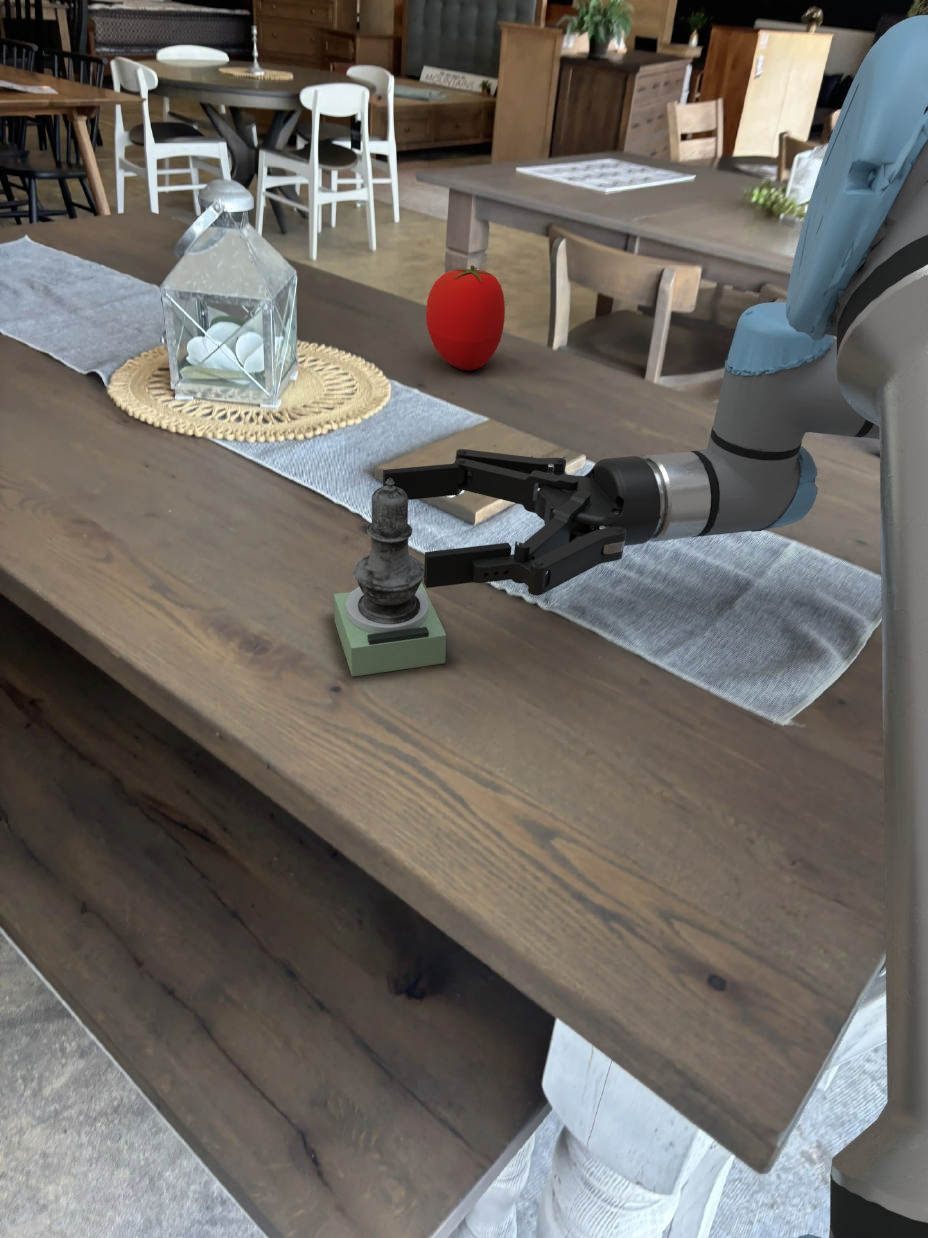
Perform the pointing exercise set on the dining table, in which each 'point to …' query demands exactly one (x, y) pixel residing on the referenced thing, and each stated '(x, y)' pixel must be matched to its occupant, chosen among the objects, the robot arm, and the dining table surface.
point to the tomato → (466, 317)
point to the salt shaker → (389, 562)
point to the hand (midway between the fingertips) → (402, 525)
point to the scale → (388, 637)
